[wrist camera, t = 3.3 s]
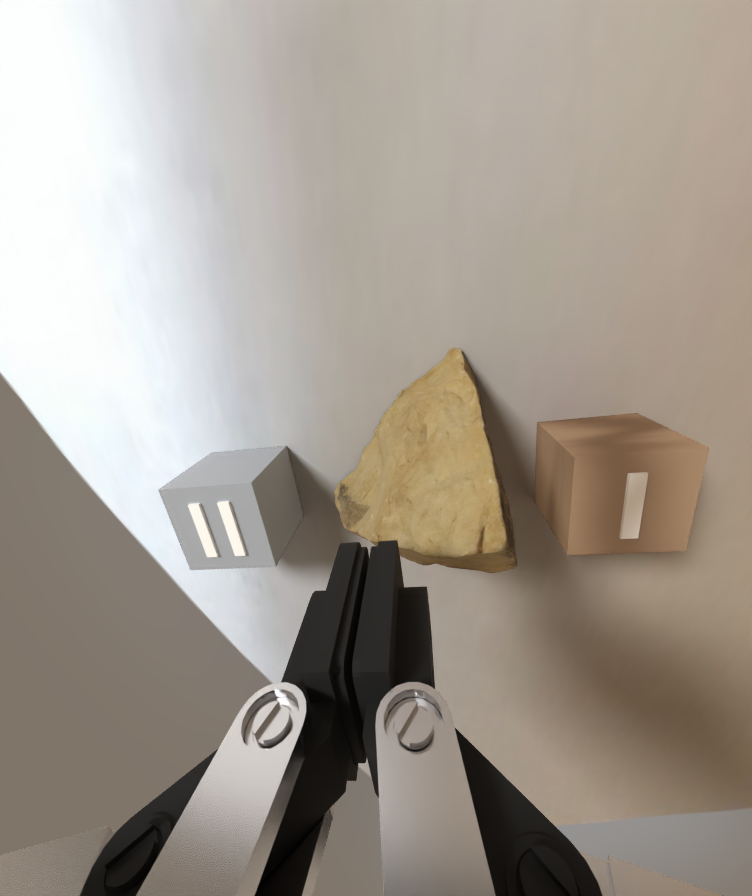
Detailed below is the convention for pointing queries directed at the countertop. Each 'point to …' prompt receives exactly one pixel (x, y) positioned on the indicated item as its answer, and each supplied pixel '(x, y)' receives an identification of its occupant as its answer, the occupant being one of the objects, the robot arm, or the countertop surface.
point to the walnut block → (617, 484)
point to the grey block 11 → (235, 508)
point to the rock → (433, 477)
